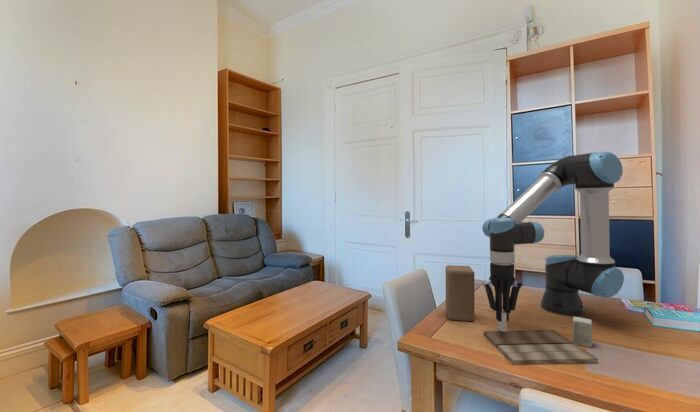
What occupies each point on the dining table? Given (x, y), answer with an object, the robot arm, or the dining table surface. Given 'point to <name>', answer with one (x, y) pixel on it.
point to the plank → (525, 337)
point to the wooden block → (460, 293)
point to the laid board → (546, 354)
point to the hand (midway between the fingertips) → (502, 329)
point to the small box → (582, 331)
